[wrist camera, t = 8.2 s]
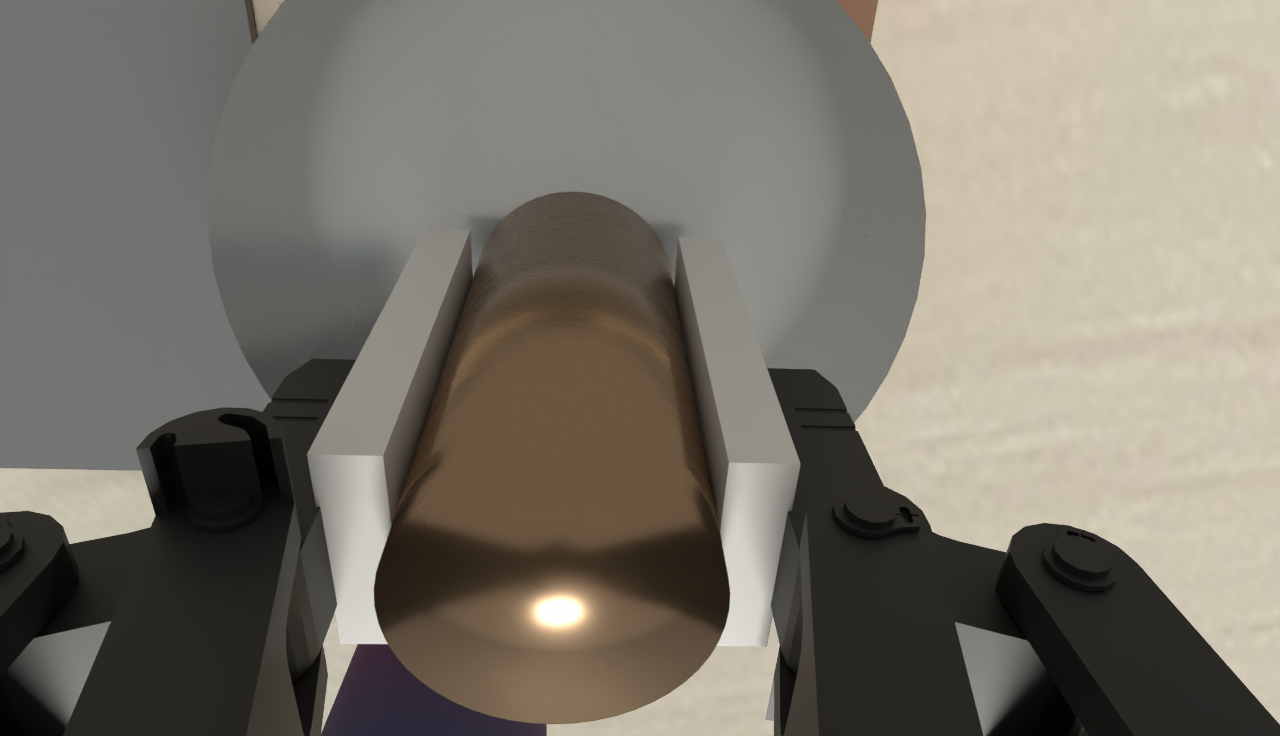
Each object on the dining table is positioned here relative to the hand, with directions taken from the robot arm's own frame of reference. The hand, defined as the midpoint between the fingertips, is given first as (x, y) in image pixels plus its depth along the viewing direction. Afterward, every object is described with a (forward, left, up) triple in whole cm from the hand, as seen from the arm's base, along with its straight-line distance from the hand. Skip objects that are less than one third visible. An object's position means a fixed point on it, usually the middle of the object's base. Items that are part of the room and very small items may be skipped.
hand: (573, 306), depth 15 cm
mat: (-15, -3, -8) cm, 17 cm away
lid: (0, 0, -2) cm, 2 cm away
